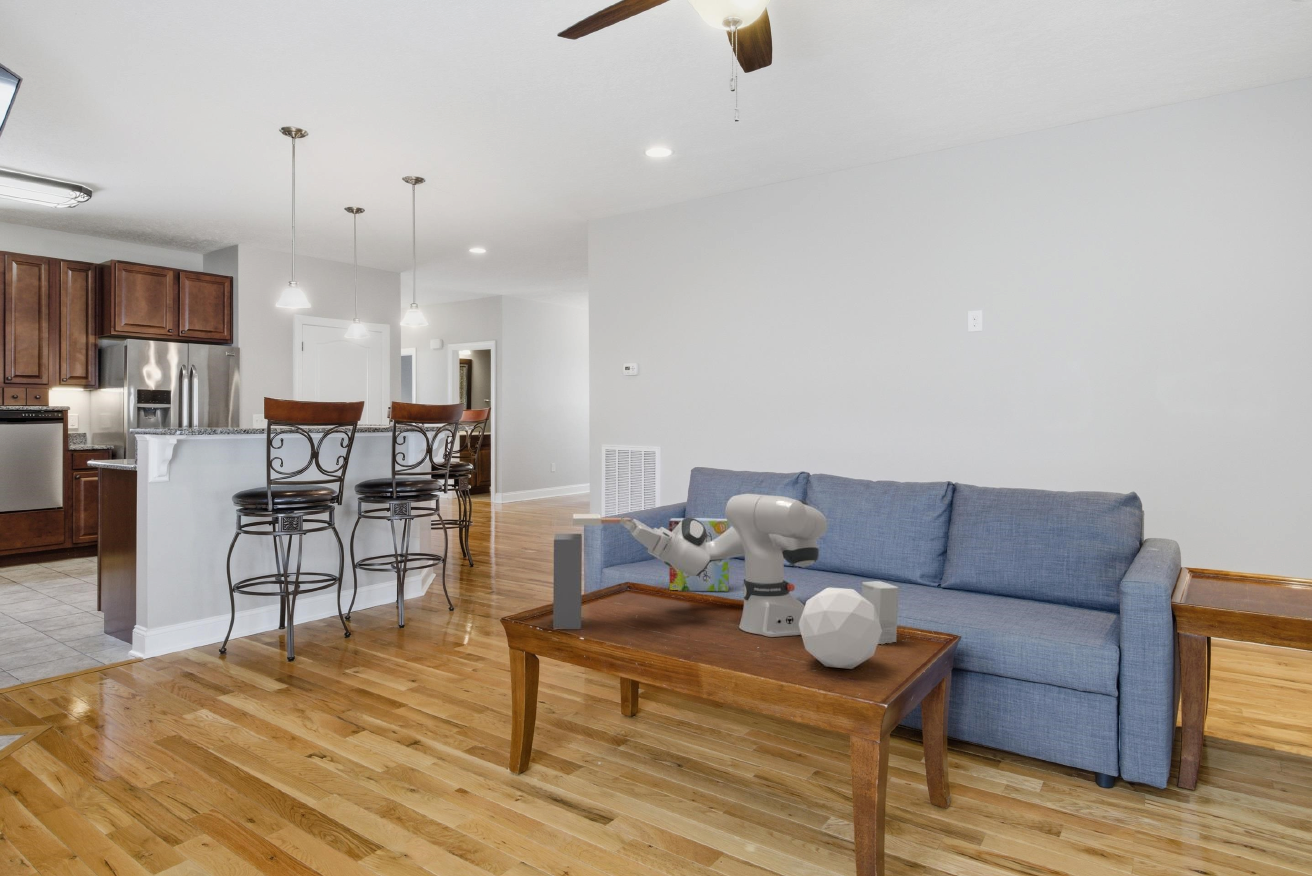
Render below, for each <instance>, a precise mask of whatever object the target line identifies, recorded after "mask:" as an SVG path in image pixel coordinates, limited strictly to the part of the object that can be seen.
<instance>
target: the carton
mask: <svg viewBox="0 0 1312 876" xmlns="http://www.w3.org/2000/svg"><path fill="white" fill-rule="evenodd" d="M582 553H583V536H582V533H555V534H554V537H553V588H552V589H553V592H552V595H553V597H552V598H553V600H552V601H553V605H552V606H553V609H552V611H553V614H552V617H553V618H552V620H553V621H552V628H564V629H581V630H582V582H583V581H582V578H583V577H582V574H583V573H582V570H583V567H582V566H583V565H582V563H583V557H582V556H583V554H582Z"/></svg>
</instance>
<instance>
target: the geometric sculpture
mask: <svg viewBox="0 0 1312 876" xmlns="http://www.w3.org/2000/svg"><path fill="white" fill-rule="evenodd" d="M804 606H805V607H804V610H803V613H802V616H801V619H800V621H799V628H800V632H801V639H802V642H803V645H804V648H805V650H806V651H807V652H808V653H809V654H810V655H811V656H813V657H814V658H815V659H816V660H818V661H819V662H820V663H821V664H823V666H825V667H827V668H828V667H829V668H837V669H838V668H839V669H849V670H853V669H854V668H855V667H857V666H859V665H860V664H862V663H864V662H865V661H867V660H868V659H869V660H870V658H872V657H874V655H875V652H876V650H877V646H878V641H879V638H880V635H881V633H882V630H881V626H880V623H879V620H878V617H877V613H876V610H875V607H874V605H872V604H871V603H870V602H869V601H867V600H866V599H865V598H864V597H862V594H860V593H859V592H857V591H856V590H855V589H854V588H843V587H842V588H840V587H826V588H825V589H823V590H821V591H819V592H818V593H817V594H815V595H813V596H812V597H810V598H809V599H808V600H806V602H805V604H804Z"/></svg>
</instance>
